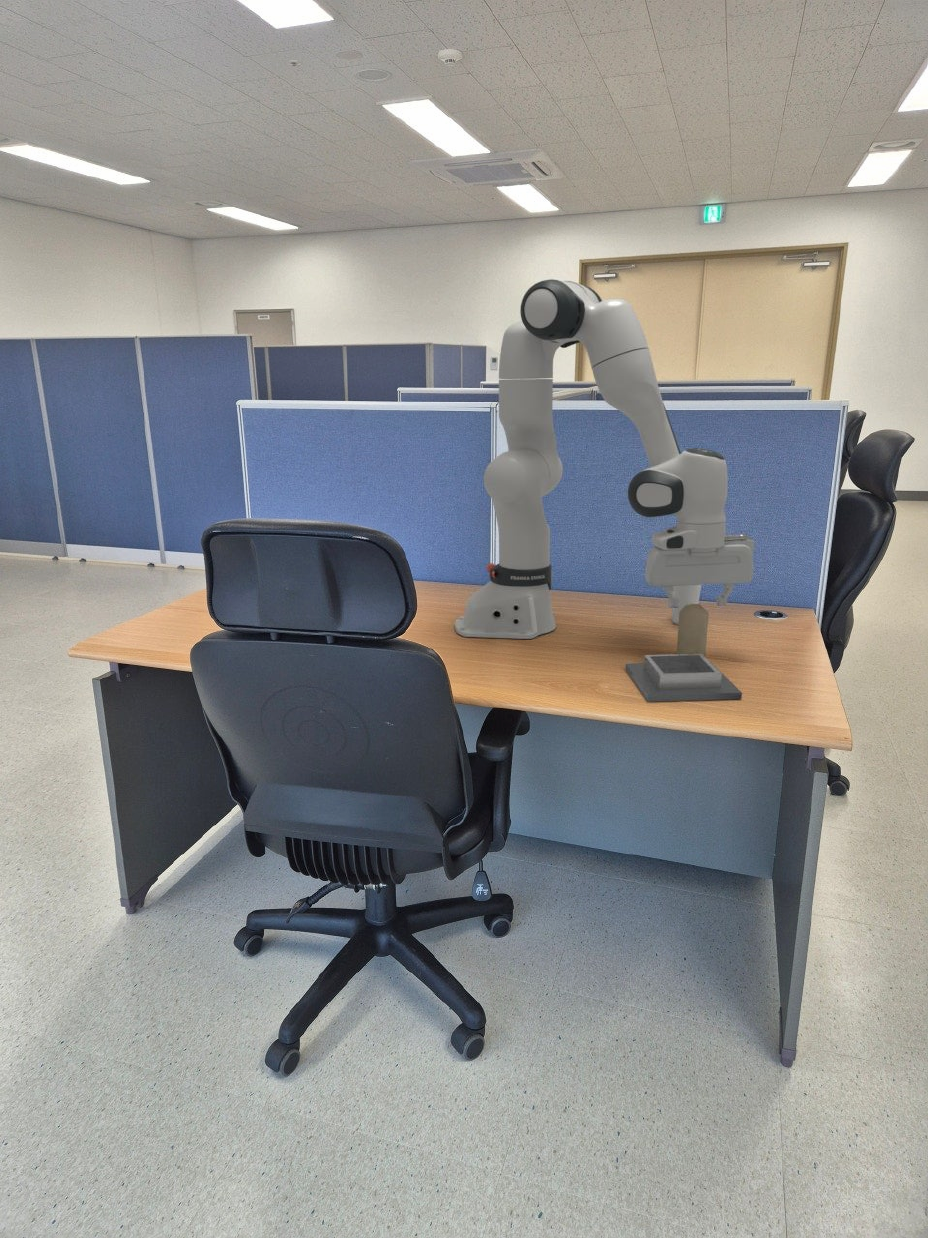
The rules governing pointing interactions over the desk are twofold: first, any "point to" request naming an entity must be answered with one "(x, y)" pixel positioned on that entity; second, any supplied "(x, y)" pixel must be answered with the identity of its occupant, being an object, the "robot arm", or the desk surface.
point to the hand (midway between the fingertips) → (697, 606)
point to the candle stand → (681, 679)
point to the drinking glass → (684, 598)
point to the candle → (692, 630)
